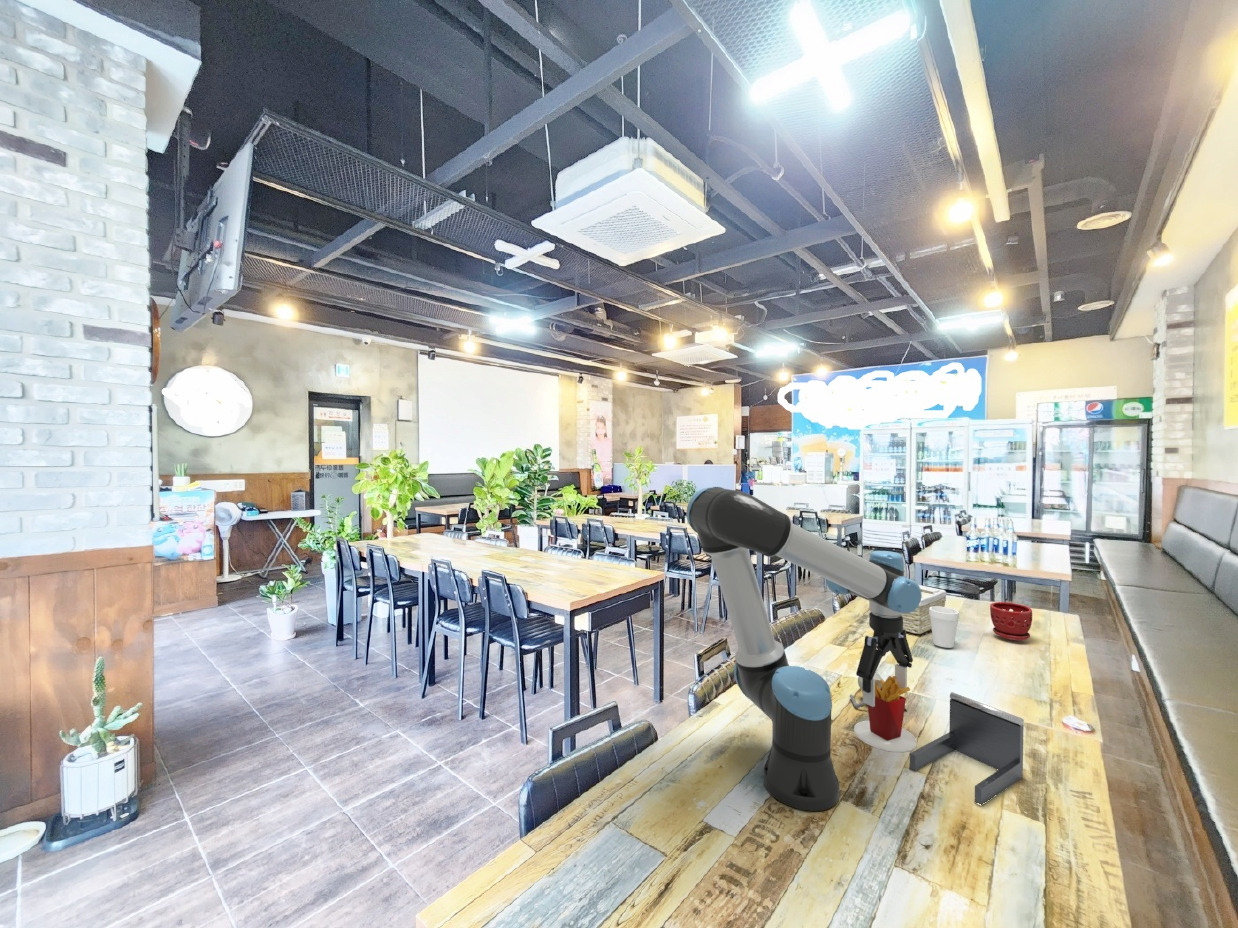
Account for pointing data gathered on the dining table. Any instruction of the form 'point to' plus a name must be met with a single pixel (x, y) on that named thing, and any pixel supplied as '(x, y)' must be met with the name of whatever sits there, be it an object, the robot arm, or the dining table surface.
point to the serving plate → (895, 745)
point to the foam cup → (943, 625)
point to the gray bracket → (979, 744)
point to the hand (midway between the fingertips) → (885, 697)
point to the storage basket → (923, 611)
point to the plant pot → (1011, 620)
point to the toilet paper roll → (860, 682)
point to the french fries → (887, 709)
